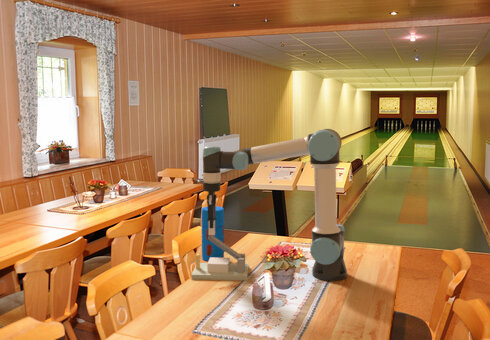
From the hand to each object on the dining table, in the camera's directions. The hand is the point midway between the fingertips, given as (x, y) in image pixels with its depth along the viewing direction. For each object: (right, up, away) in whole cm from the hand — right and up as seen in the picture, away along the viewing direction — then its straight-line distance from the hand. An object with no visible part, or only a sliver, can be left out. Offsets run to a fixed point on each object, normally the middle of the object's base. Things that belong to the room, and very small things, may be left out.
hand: (211, 234), depth 214 cm
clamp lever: (+6, -7, +1) cm, 9 cm away
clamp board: (+4, -17, +2) cm, 18 cm away
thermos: (-1, -15, +22) cm, 27 cm away
